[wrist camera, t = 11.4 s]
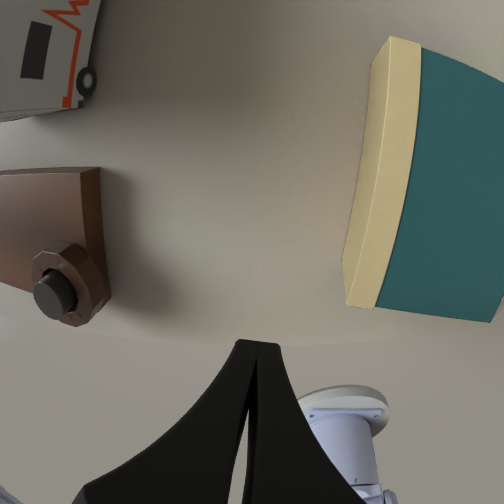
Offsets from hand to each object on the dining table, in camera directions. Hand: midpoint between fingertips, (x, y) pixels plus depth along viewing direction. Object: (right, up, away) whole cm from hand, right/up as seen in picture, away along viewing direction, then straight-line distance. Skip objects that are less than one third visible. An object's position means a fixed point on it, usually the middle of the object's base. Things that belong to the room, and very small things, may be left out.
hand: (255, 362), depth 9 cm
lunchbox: (+14, +6, +2) cm, 15 cm away
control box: (-17, +6, +10) cm, 21 cm away
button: (-13, +1, +7) cm, 15 cm away
